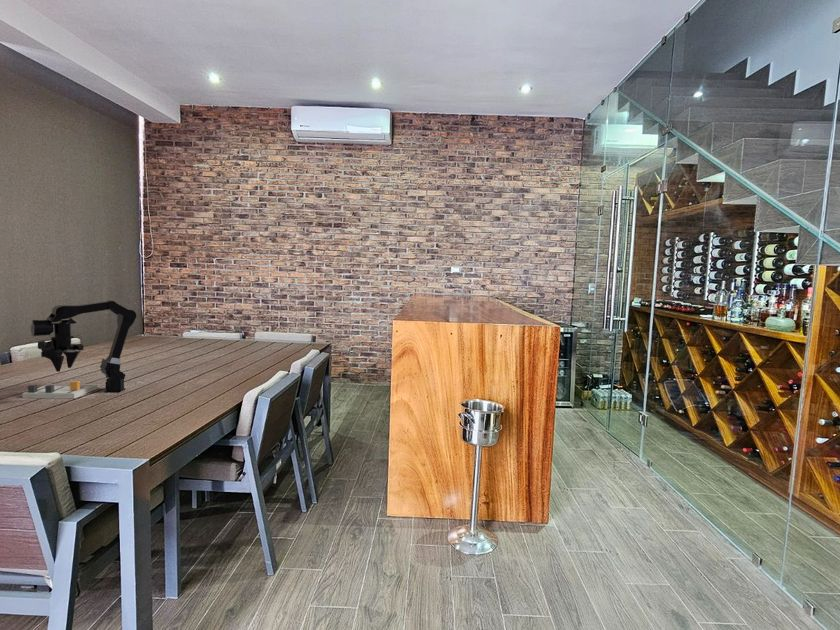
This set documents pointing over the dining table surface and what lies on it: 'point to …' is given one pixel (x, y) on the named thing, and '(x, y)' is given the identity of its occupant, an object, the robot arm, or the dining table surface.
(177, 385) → the dining table surface
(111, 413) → the dining table surface
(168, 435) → the dining table surface
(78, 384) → the block
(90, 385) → the breaker panel
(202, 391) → the dining table surface
